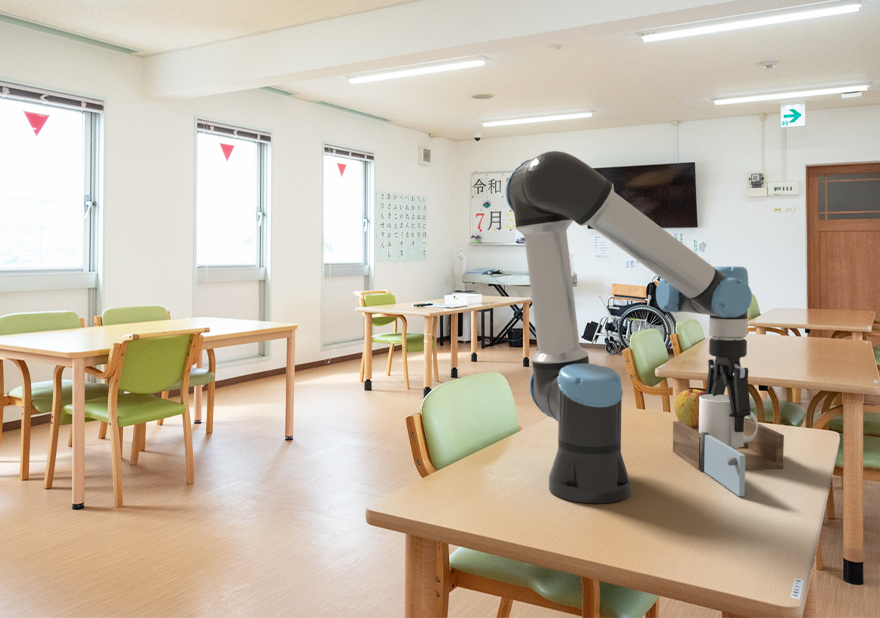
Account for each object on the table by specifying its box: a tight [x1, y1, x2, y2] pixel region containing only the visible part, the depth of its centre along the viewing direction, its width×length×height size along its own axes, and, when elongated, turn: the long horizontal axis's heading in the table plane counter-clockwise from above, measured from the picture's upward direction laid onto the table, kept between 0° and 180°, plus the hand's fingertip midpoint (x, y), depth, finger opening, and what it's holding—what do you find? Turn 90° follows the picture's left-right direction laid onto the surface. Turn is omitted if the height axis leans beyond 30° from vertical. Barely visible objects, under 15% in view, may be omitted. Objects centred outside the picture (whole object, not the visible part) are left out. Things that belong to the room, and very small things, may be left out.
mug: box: [698, 394, 759, 450], centre depth 150 cm, size 9×12×11 cm
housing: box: [672, 419, 785, 473], centre depth 150 cm, size 18×16×8 cm
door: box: [703, 435, 746, 497], centre depth 134 cm, size 15×2×8 cm, turn 3°
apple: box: [673, 388, 706, 429], centre depth 181 cm, size 9×9×10 cm
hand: (726, 440), depth 151 cm, fingers closed on mug, 9 cm apart
